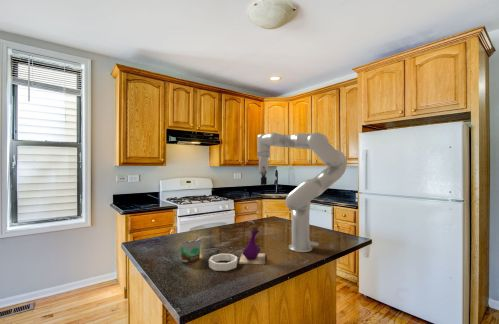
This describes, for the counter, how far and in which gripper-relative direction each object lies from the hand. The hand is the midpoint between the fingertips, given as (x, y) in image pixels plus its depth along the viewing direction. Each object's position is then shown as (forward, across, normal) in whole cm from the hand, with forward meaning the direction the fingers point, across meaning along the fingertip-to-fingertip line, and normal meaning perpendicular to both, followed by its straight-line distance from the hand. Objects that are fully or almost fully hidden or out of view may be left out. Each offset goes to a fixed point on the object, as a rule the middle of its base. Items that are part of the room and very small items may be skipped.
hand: (263, 184), depth 151 cm
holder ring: (+34, +35, -18) cm, 52 cm away
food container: (+34, +31, -33) cm, 57 cm away
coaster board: (+34, +27, -5) cm, 44 cm away
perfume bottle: (+34, +27, -6) cm, 44 cm away
